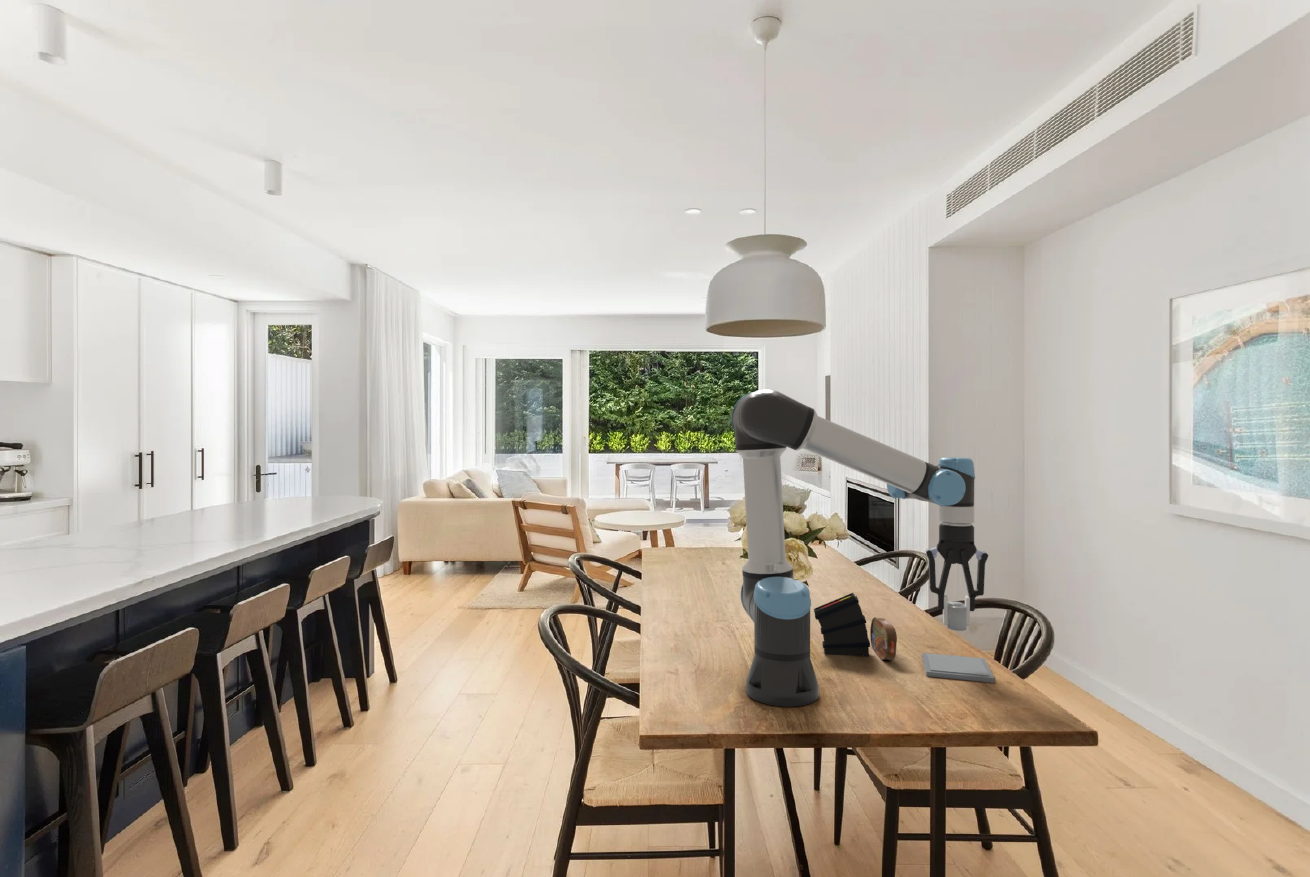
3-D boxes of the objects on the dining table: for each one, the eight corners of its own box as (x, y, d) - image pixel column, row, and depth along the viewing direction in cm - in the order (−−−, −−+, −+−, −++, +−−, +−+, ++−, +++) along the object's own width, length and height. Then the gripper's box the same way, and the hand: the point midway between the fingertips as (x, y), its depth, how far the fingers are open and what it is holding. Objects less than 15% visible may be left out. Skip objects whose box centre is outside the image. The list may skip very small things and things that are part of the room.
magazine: (883, 651, 167) (855, 595, 168) (832, 671, 169) (806, 615, 171) (881, 646, 171) (854, 591, 172) (832, 666, 173) (806, 611, 174)
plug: (948, 629, 156) (948, 608, 156) (944, 619, 165) (944, 598, 165) (967, 631, 155) (967, 609, 155) (962, 620, 164) (962, 599, 164)
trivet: (926, 676, 155) (926, 670, 155) (921, 656, 168) (921, 651, 168) (994, 682, 150) (994, 677, 150) (984, 662, 164) (984, 657, 164)
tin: (869, 645, 177) (869, 613, 177) (881, 645, 177) (881, 613, 177) (885, 665, 162) (885, 629, 162) (898, 665, 162) (898, 629, 162)
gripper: (994, 523, 160) (993, 622, 160) (916, 520, 165) (915, 616, 165) (999, 527, 153) (999, 631, 153) (918, 524, 158) (918, 625, 158)
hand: (956, 623), depth 159 cm, fingers closed on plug, 4 cm apart
